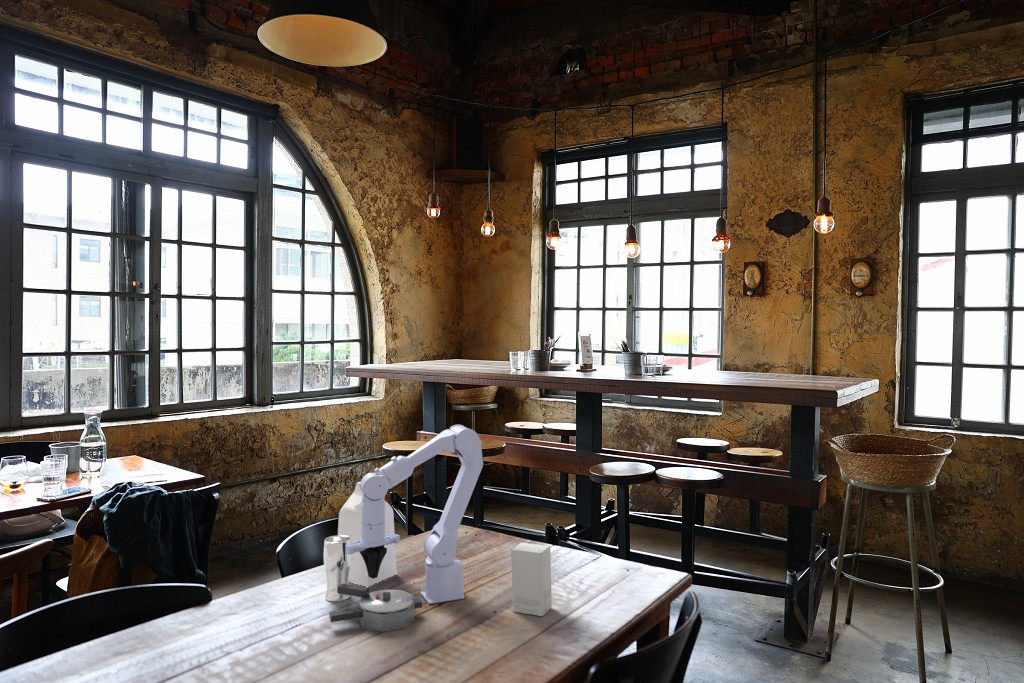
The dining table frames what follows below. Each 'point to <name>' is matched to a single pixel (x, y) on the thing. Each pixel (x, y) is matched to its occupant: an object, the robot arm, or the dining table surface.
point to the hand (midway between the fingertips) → (372, 577)
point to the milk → (352, 527)
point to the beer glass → (336, 566)
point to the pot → (378, 617)
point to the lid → (378, 598)
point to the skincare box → (531, 579)
